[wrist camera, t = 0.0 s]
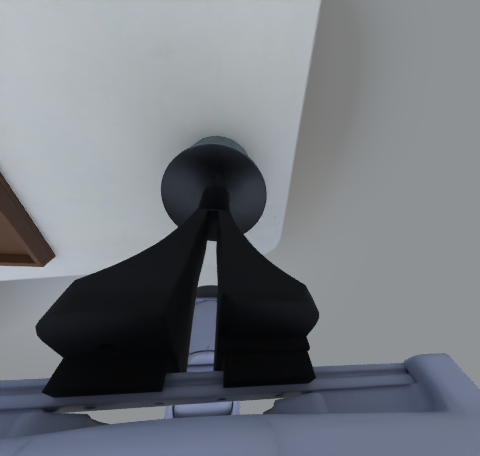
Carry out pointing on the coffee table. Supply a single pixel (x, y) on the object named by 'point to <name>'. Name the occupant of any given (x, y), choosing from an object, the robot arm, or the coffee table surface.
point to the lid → (214, 186)
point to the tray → (19, 234)
